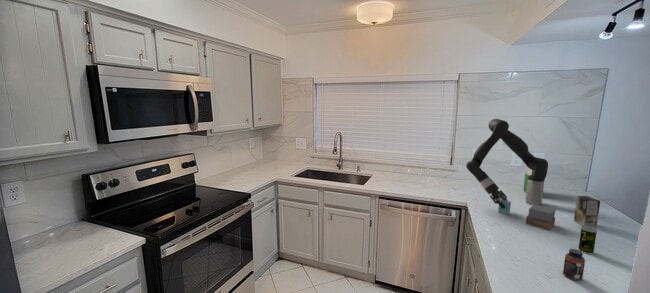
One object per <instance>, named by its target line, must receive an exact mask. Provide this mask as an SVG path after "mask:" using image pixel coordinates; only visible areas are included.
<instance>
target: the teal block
mask: <svg viewBox="0 0 650 293" xmlns="http://www.w3.org/2000/svg"><path fill="white" fill-rule="evenodd" d="M500 200H501V199H500ZM501 202H502V203H503V204H504V206H505V208H504V209H502V208H501V207H500V206H499V205H498V210H497V213H498V214H500V215H505V216H508V215H509V214H510V213H511V204H512V202H511V201H510V200H508V201H506V200H501Z"/></svg>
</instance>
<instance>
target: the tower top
mask: <svg viewBox="0 0 650 293" xmlns="http://www.w3.org/2000/svg"><path fill="white" fill-rule="evenodd" d="M555 213H556V209H555V208H550V207H547V206H542V205H539V206H538V205H532V206H531V207H529V208H528V214H527V216H528V217H532V218H536V219H540V220H544V221H548V222H550V221H551V220H552V219H553V218H554V217H555V215H556V214H555Z"/></svg>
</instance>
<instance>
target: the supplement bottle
mask: <svg viewBox="0 0 650 293" xmlns="http://www.w3.org/2000/svg"><path fill="white" fill-rule="evenodd" d="M583 253H584V252H581V251H580V250H579V249H575V248H570V249H569V251H568V252H566V254H565V256H564V262H563V270H562V274H563V275H564V276H565V277H566V278H568V279H570V280H573V281H577V280H579V281H582V280H583V277H584V269H585V264H586V259H585V257H583Z"/></svg>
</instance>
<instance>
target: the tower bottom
mask: <svg viewBox="0 0 650 293" xmlns="http://www.w3.org/2000/svg"><path fill="white" fill-rule="evenodd" d="M555 222H556V217H555V216H554V218H553V219H552V220H551V221H550V222H548V221H544V220H540V219H536V218H532V217H528V215H526V217H525V225H527V226H528V225H529V226H533V227H536V228H538V229H543V230H546V231H551V229H552V228H553V227H554V226H555V224H556V223H555Z"/></svg>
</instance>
